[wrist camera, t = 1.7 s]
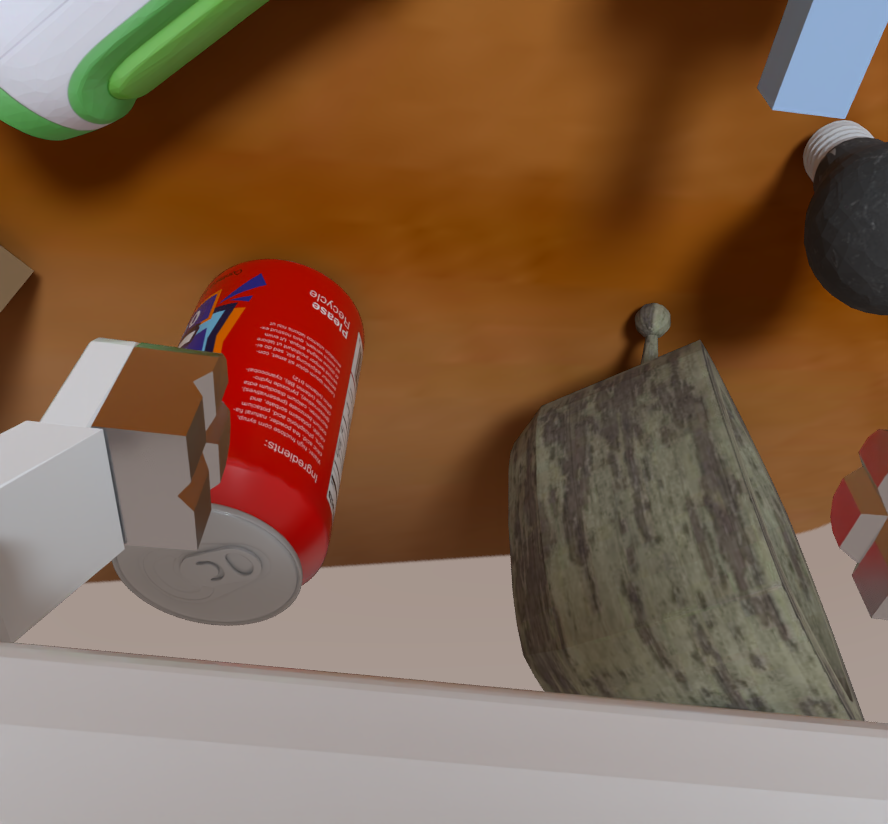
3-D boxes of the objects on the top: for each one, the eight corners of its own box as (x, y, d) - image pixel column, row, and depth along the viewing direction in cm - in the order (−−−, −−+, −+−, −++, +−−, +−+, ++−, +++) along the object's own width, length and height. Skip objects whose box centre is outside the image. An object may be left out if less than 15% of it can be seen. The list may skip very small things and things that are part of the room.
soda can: (392, 361, 41) (358, 618, 30) (251, 399, 43) (169, 653, 32) (325, 226, 36) (253, 470, 25) (170, 275, 38) (38, 522, 27)
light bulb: (725, 159, 33) (796, 296, 26) (839, 39, 30) (957, 154, 23) (819, 230, 35) (910, 376, 28) (935, 123, 32) (1073, 256, 25)
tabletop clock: (770, 464, 45) (979, 1029, 26) (614, 518, 48) (699, 1054, 29) (671, 261, 37) (869, 864, 18) (492, 343, 40) (501, 925, 21)
